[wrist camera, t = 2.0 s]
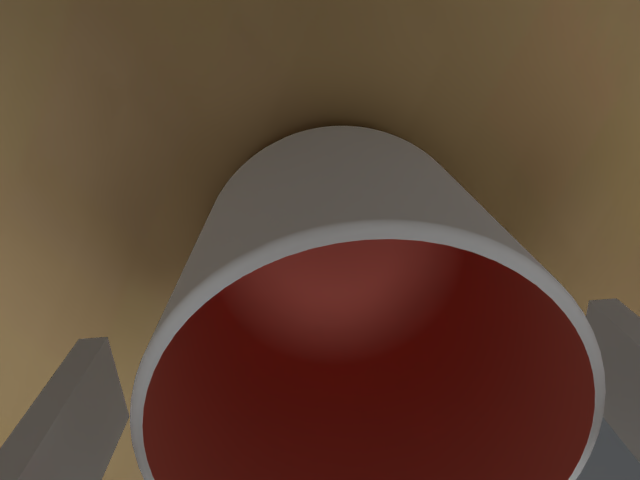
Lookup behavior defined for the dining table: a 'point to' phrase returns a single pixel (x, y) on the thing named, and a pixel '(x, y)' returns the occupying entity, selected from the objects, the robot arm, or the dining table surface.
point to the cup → (363, 332)
